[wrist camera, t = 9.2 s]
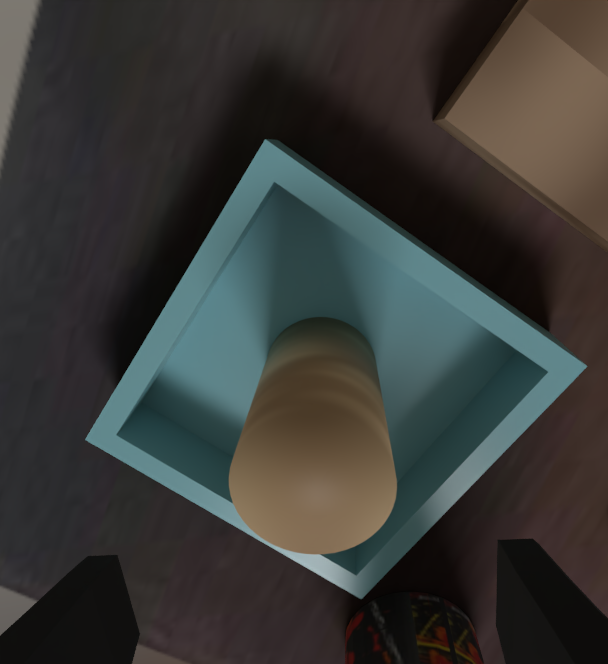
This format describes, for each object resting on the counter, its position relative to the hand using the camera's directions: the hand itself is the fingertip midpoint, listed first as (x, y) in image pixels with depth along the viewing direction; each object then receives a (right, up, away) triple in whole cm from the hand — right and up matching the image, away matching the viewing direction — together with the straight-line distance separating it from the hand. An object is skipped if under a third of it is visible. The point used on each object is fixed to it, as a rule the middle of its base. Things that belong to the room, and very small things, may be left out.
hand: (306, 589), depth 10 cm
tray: (+1, +4, +10) cm, 10 cm away
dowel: (+1, +4, +9) cm, 10 cm away
